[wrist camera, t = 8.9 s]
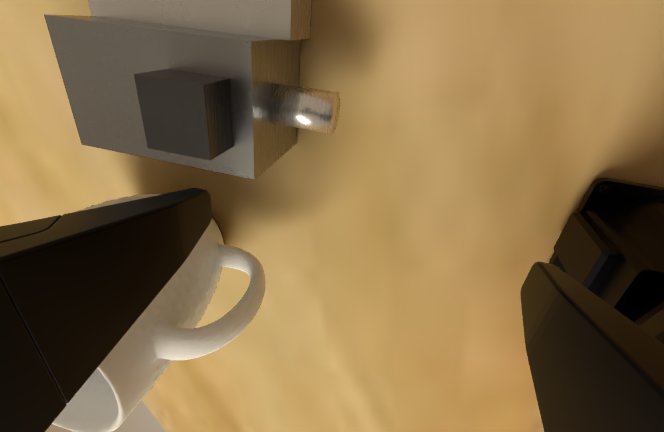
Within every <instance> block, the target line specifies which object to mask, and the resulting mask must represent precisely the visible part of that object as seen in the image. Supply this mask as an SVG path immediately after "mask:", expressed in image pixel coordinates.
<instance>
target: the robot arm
mask: <svg viewBox="0 0 664 432" xmlns="http://www.w3.org/2000/svg"><path fill="white" fill-rule="evenodd" d="M603 185H607V187H606V188H605V189H604V190H602V191H598V190H599V188H600V187H601V186H603ZM211 220H212V207H211V197H210V193H209V192H208V191H207V190H203V189H199V188H191V189H187V190H182V191H177V192H172V193H167V194H162V195H157V196H152V197H147V198H142V199H137V200H132V201H127V202H123V203H118V204H113V205H108V206H103V207H98V208H93V209H88V210H83V211H78V212H73V213H68V214H64V215H62V216H61V215H58V216H53V217H48V218H43V219H38V220H33V221H28V222H23V223H17V224H12V225H6V226H0V432H45V431H46V430H47V429H48V428H49V426H50V425H51V424H52V423H53V421H54V420H55V419H56V418H57V417H58V415H59V414H60V413H61V412H62V411H63V409H64V408H65V407H66V405H67V404H66V403H69V402H70V400H71V399H72V398H73V397H74V396H75V394H76V393H77V392H78V391H79V390H80V388H81V387H82V386H83V385H84V383H85V382H86V381H87V380H88V379H89V377H90V376H91V375H92V374H93V373H94V371H95V370H96V369H97V368H98V366H99V365H100V364H101V363H102V362H103V360H104V359H105V358H106V357H107V356H108V354H109V353H110V352H111V351H112V350H113V348H114V347H115V346H116V345H117V343H118V342H119V341H120V340H121V339H122V337H123V336H124V335H125V334H126V333H127V331H128V330H129V329H130V328H131V326H132V325H133V324H134V323H135V322H136V320H137V319H138V318H139V317H140V316H141V314H142V313H143V312H144V311H145V309H146V308H147V307H148V306H149V305H150V303H151V302H152V301H153V300H154V299H155V297H156V296H157V295H158V294H159V292H160V291H161V290H162V289H163V288H164V286H165V285H166V284H167V283H168V282H169V280H170V279H171V278H172V277H173V275H174V274H175V273H176V272H177V271H178V269H179V268H180V267H181V266H182V264H183V263H184V262H185V260H186V259H187V258H188V256H189V255H190V253H191V252H192V250H193V249H194V247H195V246H196V244H197V243H198V241H199V240H200V238H201V236H202V235H203V233H204V232H205V230H206V229H207V227H208V226H209V224H210V222H211ZM554 251H555V252H554V254H553V256H552V258H551V260H550V262H549V263H544V262H536V263H534V265H533V266H532V268H531V270H530V272H529V274H528V276H527V278H526V279H525V281H524V283H523V285H522V288H521V304H522V315H523V326H524V336H525V345H526V351H527V356H528V361H529V365H530V370H531V374H532V379H533V383H534V388H535V392H536V397H537V401H538V405H539V410H540V414H541V419H542V423H543V428H544V432H664V188H662V187H657V186H651V185H645V184H639V183H633V182H627V181H621V180H616V179H610V178H599V179H597V180H595V181H593V183H592V184H591V185H590V187H589V189H588V191H587V193H586V195H585V196H584V198H583V200H582V202H581V204H580V206H579V208H578V210H577V211H575V212H574V213H572V214H571V216H570V218H569V220H568V222H567V223H566V225H565V227H564V229H563V231H562V233H561V235H560V237H559V239H558V240H557V242H556V244H555V246H554ZM558 267H561V268H558Z"/></svg>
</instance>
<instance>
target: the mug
mask: <svg viewBox="0 0 664 432" xmlns="http://www.w3.org/2000/svg"><path fill="white" fill-rule="evenodd" d="M157 195H162V194H146V195H134V196H130V197H123V198H119V199H115V200H110V201H106V202H103V203H101V204H98V205H92V206H90V207H87V208H85V209H83V210H88V209H93V208H98V207H103V206H108V205H113V204H118V203H123V202H127V201H132V200H137V199H142V198H147V197H152V196H157ZM83 210H79V211H83ZM77 212H78V211H77ZM222 267H230V268H235V269H238V270H241V271H243V272H246V273H247V274H248V275H249V276H250V277H251V280H250V285H249V287H248V289H247V291H246V293H245V295H244V296H243V297H242V299H241V300H240V301H239V302H238V304H237V305H236V306H235V307H234V308H233V309H232V310H231V311H229V312H228V313H227V314H226V315H224V316H223V317H222V318H220V319H219V320H217V321H215V322H213V323H211V324H209V325H206V326H203V327H200V328H195V327H196V326H197V324H198V322H199V321H200V320H201V318H202V316H203V315H204V313H205V310H206V309H207V306H208V305H209V304H210V301H211V298H212V296H213V294H214V293H215V289H216V287H217V283H218V281H219V278H220V274H221V271H222ZM264 292H265V274H264V270H263V267H262V265H261V263H260V262H259V261H258V259H257V258H256V257H255V256H254V255H252V254H251V253H249V252H247V251H244V250H242V249H240V248H236V247H232V246H228V245H224V242H223V238H222V235H221V232H220V230H219V227H218V226H217V224H216V222H215V221H214V220H213V218H212V220H211V222H210V224H209V226H208V227H207V229H206V230H205V232H204V233H203V235H202V236H201V238H200V240H199V241H198V243H197V244H196V246H195V247H194V249H193V250H192V252H191V253H190V255H189V256H188V258H187V259H186V260H185V262H184V263H183V264H182V266H181V267H180V268H179V269H178V271H177V272H176V273H175V274H174V275H173V277H172V278H171V279H170V280H169V282H168V283H167V284H166V285H165V286H164V288H163V289H162V290H161V291H160V292H159V294H158V295H157V296H156V297H155V299H154V300H153V301H152V302H151V303H150V305H149V306H148V307H147V308H146V309H145V311H144V312H143V313H142V314H141V316H140V317H139V318H138V319H137V320H136V322H135V323H134V324H133V325H132V326H131V328H130V329H129V330H128V331H127V333H126V334H125V335H124V336H123V337H122V339H121V340H120V341H119V342H118V343H117V345H116V346H115V347H114V348H113V350H112V351H111V352H110V353H109V354H108V356H107V357H106V358H105V359H104V360H103V362H102V363H101V364H100V365H99V366H98V368H97V369H96V370H95V371H94V373H93V374H92V375H91V376H90V377H89V379H88V380H87V381H86V382H85V383H84V385H83V386H82V387H81V388H80V390H79V391H78V392H77V393H76V394H75V396H74V397H73V398H72V399H71V400H70V402H69V403H66V404H67V405H66V407H65V408H64V409H63V411H62V412H61V413H60V414H59V415H58V417H57V418H56V419H55V420H54V421H53V423H52V424H54V425H56V426H59V427H62V428H64V429H68V430H71V431H74V432H112V431H114V430H116V429H117V428H118V427H119V426H120V425H121V424H122V423H123V422H124V420H125V419H126V418H127V417H128V415H129V414H130V413H131V412H132V411H133V409H134V408H135V407H136V406H137V404H138V403H139V402H140V401H141V399H142V398H143V397H144V396H145V395H146V393H147V392H148V391H150V390H151V389H152V387H153V385H154V383H155V382H156V381H157V380H158V379H159V377H160V376H161V375H162V374H163V372H164V371H165V370H166V369H167V368H168V366H169V365H170V363H171V362H172V361H173V360H188V359H193V358H198V357H201V356H204V355H207V354H209V353H212V352H214V351H216V350H218V349H220V348H222V347H223V346H225V345H226V344H228V343H229V342H230V341H232V340H233V339H234V338H236V337H237V336H238V335H239V334H240V333H241V332H242V331H243V330H244V329H245V328H246V327H247V326H248V325H249V323H250V322H251V321H252V319H253V318H254V316H255V315H256V313H257V311H258V309H259V307H260V305H261V303H262V300H263V297H264Z"/></svg>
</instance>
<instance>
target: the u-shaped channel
mask: <svg viewBox="0 0 664 432" xmlns="http://www.w3.org/2000/svg"><path fill="white" fill-rule="evenodd" d="M88 1H89V5H90V10H91V14H92V16H71V15H44V16H45V20H46V23H47V27H48V30H49V34H50V37H51V40H52V44H53V47H54V51H55V54H56V58H57V61H58V64H59V68H60V71H61V75H62V78H63V82H64V85H65V88H66V92H67V95H68V99H69V102H70V106H71V109H72V113H73V116H74V119H75V123H76V126H77V130H78V133H79V137H80V140H81V143H82V145H87V146H92V147H97V148H102V149H107V150H112V151H117V152H121V153H126V154H131V155H136V156H141V157H146V158H151V159H156V160H161V161H166V162H170V163H175V164H180V165H185V166H190V167H195V168H200V169H205V170H210V171H215V172H219V173H224V174H229V175H234V176H239V177H244V178H249V179H254V180H255V179H256V178H257V177H258V176H259V175H260V174H261V173H263V172H264V171H265V170H266V169H267V168H268V167H270V166H271V165H272V164H273V163H274V162H275V161H277V160H278V159H279V158H280V157H281V156H282V155H284V154H285V153H286V152H287V151H288V150H289V149H291V148H292V147H293V146H294V145H295V144H296V137H297V128H301V129H307V130H313V131H318V132H324V133H330V134H333V133H334V131H335V129H336V126H337V122H338V117H339V111H340V95H339V93H338V92H331V91H324V90H318V89H311V88H304V87H299V68H300V44H301V39H310V21H311V2H312V0H88Z"/></svg>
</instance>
